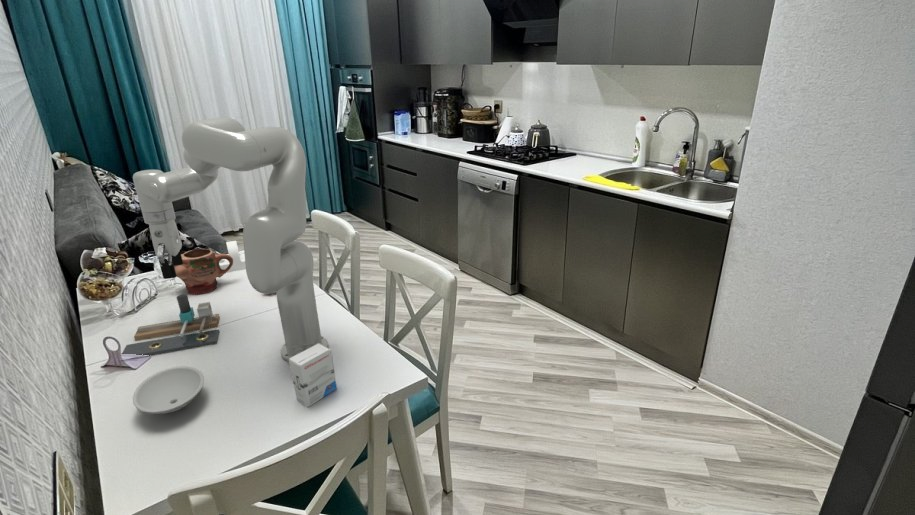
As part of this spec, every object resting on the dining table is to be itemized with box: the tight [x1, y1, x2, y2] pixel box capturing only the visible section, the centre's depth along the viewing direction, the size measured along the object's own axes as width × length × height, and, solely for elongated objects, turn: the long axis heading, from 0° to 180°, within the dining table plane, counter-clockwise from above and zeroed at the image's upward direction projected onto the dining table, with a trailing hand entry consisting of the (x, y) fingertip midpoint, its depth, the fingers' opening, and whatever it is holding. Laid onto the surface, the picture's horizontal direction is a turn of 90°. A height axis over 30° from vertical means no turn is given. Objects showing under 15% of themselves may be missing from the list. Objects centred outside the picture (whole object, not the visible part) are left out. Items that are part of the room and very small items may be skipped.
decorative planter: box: [174, 248, 233, 295], centre depth 167 cm, size 20×12×14 cm, turn 120°
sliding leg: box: [176, 293, 195, 339], centre depth 138 cm, size 12×3×9 cm, turn 19°
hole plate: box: [121, 328, 221, 357], centre depth 134 cm, size 7×24×1 cm, turn 109°
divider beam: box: [133, 301, 221, 342], centre depth 138 cm, size 13×22×6 cm, turn 109°
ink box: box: [288, 343, 338, 408], centre depth 110 cm, size 9×5×12 cm, turn 141°
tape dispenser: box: [219, 240, 246, 274], centre depth 186 cm, size 10×18×11 cm, turn 118°
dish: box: [132, 365, 205, 415], centre depth 109 cm, size 18×14×5 cm
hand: (173, 271), depth 137 cm, fingers open, 9 cm apart
